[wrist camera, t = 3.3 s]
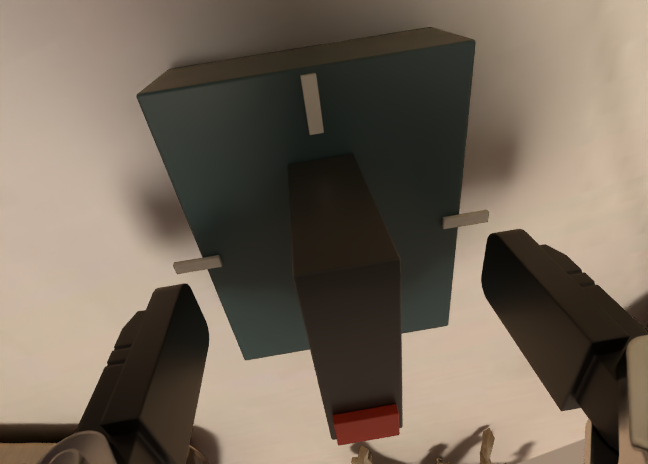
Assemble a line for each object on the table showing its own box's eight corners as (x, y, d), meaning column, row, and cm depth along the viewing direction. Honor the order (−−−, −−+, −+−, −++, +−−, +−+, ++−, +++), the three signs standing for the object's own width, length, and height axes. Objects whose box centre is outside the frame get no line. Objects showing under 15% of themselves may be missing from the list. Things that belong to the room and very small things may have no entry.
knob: (286, 164, 10) (293, 286, 6) (353, 153, 10) (405, 268, 6) (316, 308, 13) (333, 450, 9) (366, 299, 13) (405, 438, 9)
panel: (138, 73, 11) (94, 102, 8) (459, 21, 11) (517, 34, 8) (230, 308, 16) (222, 368, 14) (441, 272, 17) (472, 325, 14)
